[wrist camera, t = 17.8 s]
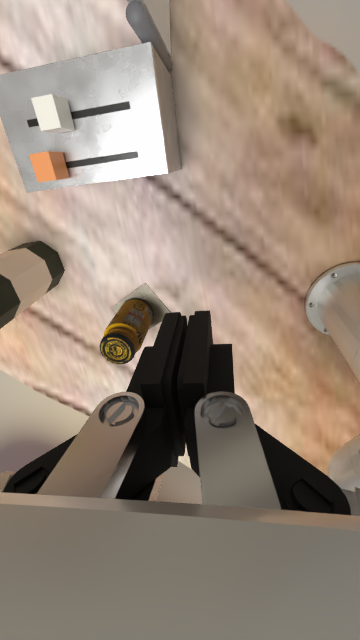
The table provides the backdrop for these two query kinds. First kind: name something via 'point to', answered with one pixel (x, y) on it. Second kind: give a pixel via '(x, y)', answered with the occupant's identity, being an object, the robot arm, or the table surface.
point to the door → (152, 25)
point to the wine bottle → (26, 277)
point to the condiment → (131, 324)
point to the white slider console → (96, 117)
